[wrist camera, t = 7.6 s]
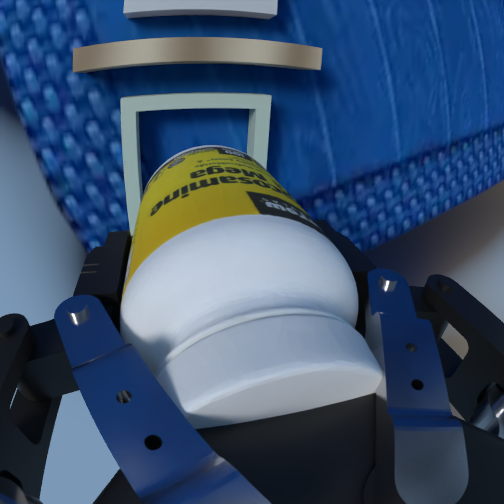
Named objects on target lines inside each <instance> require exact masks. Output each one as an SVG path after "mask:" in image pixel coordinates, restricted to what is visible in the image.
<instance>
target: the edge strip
mask: <svg viewBox="0 0 504 504" xmlns="http://www.w3.org/2000/svg"><path fill="white" fill-rule="evenodd" d="M321 59H322V48H317V47H311V46H305V45H299V44H291V43H284V42H275V41H266V40H255V39H241V38H219V37H175V38H154V39H141V40H130V41H121V42H112V43H105V44H98V45H92V46H86V47H80V48H75V49H73V72H79V73H87V72H93V71H100V70H108V69H116V68H125V67H135V66H148V65H164V64H242V65H259V66H271V67H282V68H291V69H300V70H321Z"/></svg>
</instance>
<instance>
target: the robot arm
mask: <svg viewBox="0 0 504 504" xmlns="http://www.w3.org/2000/svg"><path fill="white" fill-rule="evenodd" d="M314 222H315V223H316V224H317V225H318V226H319V227H320V229H321V230H322V231H323V232H324V233H325V235H326V236H327V237H328V238H330V240H331V241H332V243H333V244H334V245H335V246H336V247H337V249H338V250H339V252H340V253H341V254H342V256H343V257H344V259H345V260H346V262H347V264H348V266H349V267H350V269H351V271H352V274H353V277H354V279H355V282H356V287H357V293H358V316H357V322H356V326H355V330H356V331H357V332H359V333H360V334H361V335H362V336H363V338H364V339H365V341H366V342H367V344H368V346H369V349H370V350H371V352H372V354H373V355H374V357H375V358H376V360H377V362H378V364H379V365H380V367H381V369H382V379H381V381H380V383H379V385H378V387H377V389H376V393H372V394H369V395H365V396H361V397H358V398H354V399H350V400H346V401H342V402H338V403H334V404H330V405H326V406H322V407H318V408H313V409H309V410H304V411H300V412H295V413H290V414H286V415H280V416H275V417H270V418H265V419H259V420H254V421H248V422H242V423H236V424H230V425H223V426H216V427H208V428H200V429H194V427H193V426H192V425H191V424H190V422H189V421H188V420H187V419H186V417H185V416H184V415H183V414H182V412H181V411H180V410H179V409H178V407H177V406H176V405H175V403H174V402H173V401H172V400H171V398H170V397H169V396H168V394H167V393H166V392H165V390H164V389H163V388H162V386H161V385H160V383H159V382H158V381H157V379H156V378H155V376H154V375H153V374H152V372H151V371H150V369H149V368H148V367H147V365H146V364H145V362H144V361H143V359H142V358H141V356H140V355H139V353H138V352H137V350H136V349H135V348H134V346H133V345H132V344H131V343H129V344H127V345H126V344H125V342H124V340H123V339H122V337H121V334H120V308H121V301H122V294H123V289H124V283H125V277H126V271H127V265H128V259H129V254H130V249H131V244H132V239H131V233H130V231H129V230H128V231H115V232H109V233H108V236H107V239H106V242H105V245H104V246H102V247H95V248H94V249H93V250H92V251H91V252H90V253H89V254H88V255H87V257H86V260H85V263H84V266H83V268H82V271H81V274H80V277H79V280H78V282H77V285H76V288H75V291H74V295H73V297H71V298H68V299H67V300H65V301H63V302H62V303H61V304H60V305H59V306H58V307H57V309H56V311H55V314H54V319H52V320H50V321H46V322H43V323H39V324H36V325H32V326H30V325H29V323H28V321H27V319H26V318H25V317H24V316H23V315H21V314H15V313H14V314H8V315H5V316H2V317H1V318H0V504H43V503H42V502H41V501H40V500H39V498H40V491H41V485H42V480H43V474H44V469H45V464H46V459H47V454H48V450H49V445H50V441H51V436H52V432H53V428H54V424H55V421H56V417H57V413H58V409H59V406H60V402H61V398H62V395H64V394H67V393H71V392H74V391H77V390H80V392H81V394H82V396H83V398H84V400H85V403H86V405H87V407H88V409H89V411H90V413H91V415H92V418H93V419H94V421H95V423H96V426H97V427H98V429H99V431H100V433H101V435H102V437H103V439H104V441H105V443H106V444H107V446H108V448H109V450H110V451H111V453H112V455H113V457H114V459H115V460H116V462H117V463H118V465H119V467H120V469H119V470H118V472H117V473H116V474H115V475H114V477H113V478H112V479H111V481H110V482H109V483H108V485H107V486H106V487H105V488H104V490H103V491H102V492H101V494H100V495H99V496H98V497H97V499H96V500H95V501H94V502H93V504H504V323H503V322H502V321H501V320H500V319H499V318H497V317H496V316H495V315H494V314H493V313H492V312H491V311H490V310H488V309H487V308H486V307H485V306H484V305H483V304H482V303H480V302H479V301H478V300H477V299H476V298H475V297H473V296H472V295H471V294H470V293H469V292H467V291H466V290H465V289H464V288H463V287H462V286H460V285H459V284H458V283H457V282H455V281H454V280H452V279H451V278H449V277H446V276H443V275H438V274H435V275H431V276H429V277H428V279H427V282H426V284H425V287H416V286H408V283H407V281H406V280H405V279H404V278H403V277H402V276H401V275H400V274H398V273H396V272H394V271H391V270H388V269H377V268H376V267H375V266H374V265H373V264H372V263H371V261H369V259H368V258H367V257H366V256H365V255H364V254H363V253H361V251H360V250H359V249H358V248H357V247H355V245H354V244H353V243H352V242H351V241H350V240H349V239H348V238H347V237H345V236H344V235H342V234H340V233H338V232H336V231H335V230H334V229H333V228H332V227H331V226H330V225H329V224H328V223H327V222H326V221H325V220H314ZM448 323H450V324H451V325H452V326H453V327H454V328H455V329H456V330H457V331H458V332H459V333H460V334H461V335H462V336H463V337H464V338H465V339H466V340H467V342H468V346H469V349H468V353H467V355H466V356H465V358H464V359H463V360H462V359H461V358H460V357H459V356H458V355H457V354H456V352H455V351H454V350H453V349H452V348H451V347H450V346H449V345H448V344H447V343H446V342H445V341H444V340H443V339H442V338H441V337H442V335H443V333H444V331H445V329H446V327H447V325H448ZM16 388H18V389H17V392H16V395H15V397H14V400H13V403H12V406H11V408H10V404H11V401H12V398H13V395H14V393H15V390H16ZM449 402H450V403H451V404H452V405H453V406H454V407H455V409H456V410H457V411H458V412H459V413H460V415H461V416H462V417H463V418H464V419H465V421H464V420H462V419H460V418H457V417H455V416H453V415H452V413H451V409H450V403H449Z"/></svg>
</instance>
